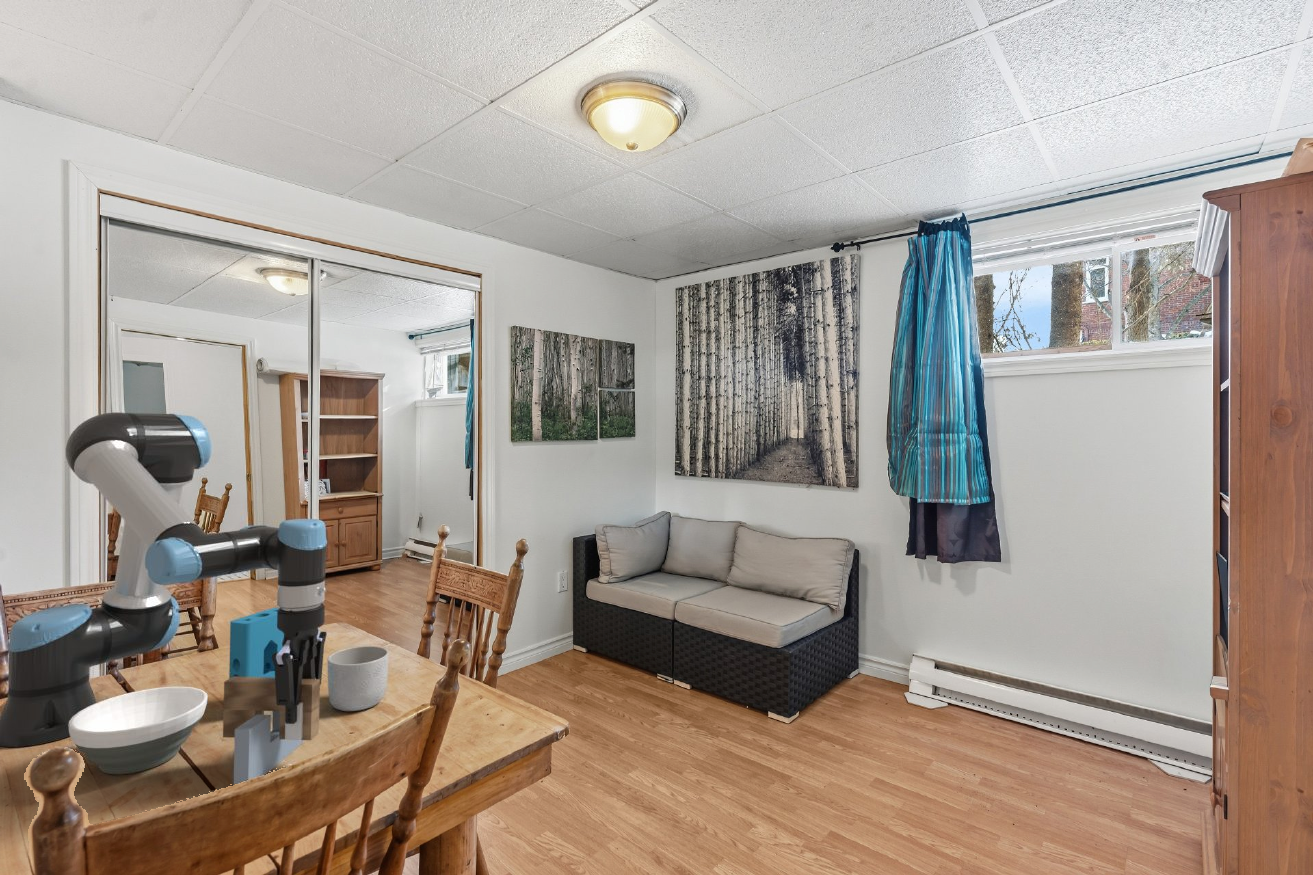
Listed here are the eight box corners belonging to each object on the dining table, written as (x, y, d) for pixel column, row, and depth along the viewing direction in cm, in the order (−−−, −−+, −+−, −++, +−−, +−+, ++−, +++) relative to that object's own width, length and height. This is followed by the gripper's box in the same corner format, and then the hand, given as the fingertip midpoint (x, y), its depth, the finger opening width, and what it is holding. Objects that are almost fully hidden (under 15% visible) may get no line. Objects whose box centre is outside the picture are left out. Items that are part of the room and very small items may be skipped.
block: (244, 719, 131) (247, 624, 131) (226, 716, 133) (228, 621, 132) (292, 697, 143) (293, 609, 143) (274, 694, 144) (276, 606, 144)
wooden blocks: (222, 737, 113) (224, 681, 113) (232, 730, 116) (233, 676, 116) (310, 740, 113) (312, 684, 113) (318, 733, 115) (319, 679, 115)
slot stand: (248, 788, 106) (249, 729, 106) (233, 788, 106) (234, 729, 106) (303, 742, 122) (304, 691, 122) (290, 742, 122) (291, 690, 122)
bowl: (41, 774, 109) (42, 719, 109) (163, 726, 127) (164, 679, 127) (111, 800, 102) (112, 741, 102) (230, 746, 120) (231, 696, 120)
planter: (317, 703, 140) (318, 654, 140) (373, 687, 149) (374, 641, 149) (339, 721, 132) (340, 669, 132) (397, 704, 141) (398, 655, 141)
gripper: (296, 618, 106) (293, 757, 106) (344, 595, 122) (341, 716, 122) (252, 617, 106) (250, 756, 107) (305, 594, 122) (303, 715, 122)
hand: (299, 734), depth 114 cm, fingers closed on wooden blocks, 3 cm apart
